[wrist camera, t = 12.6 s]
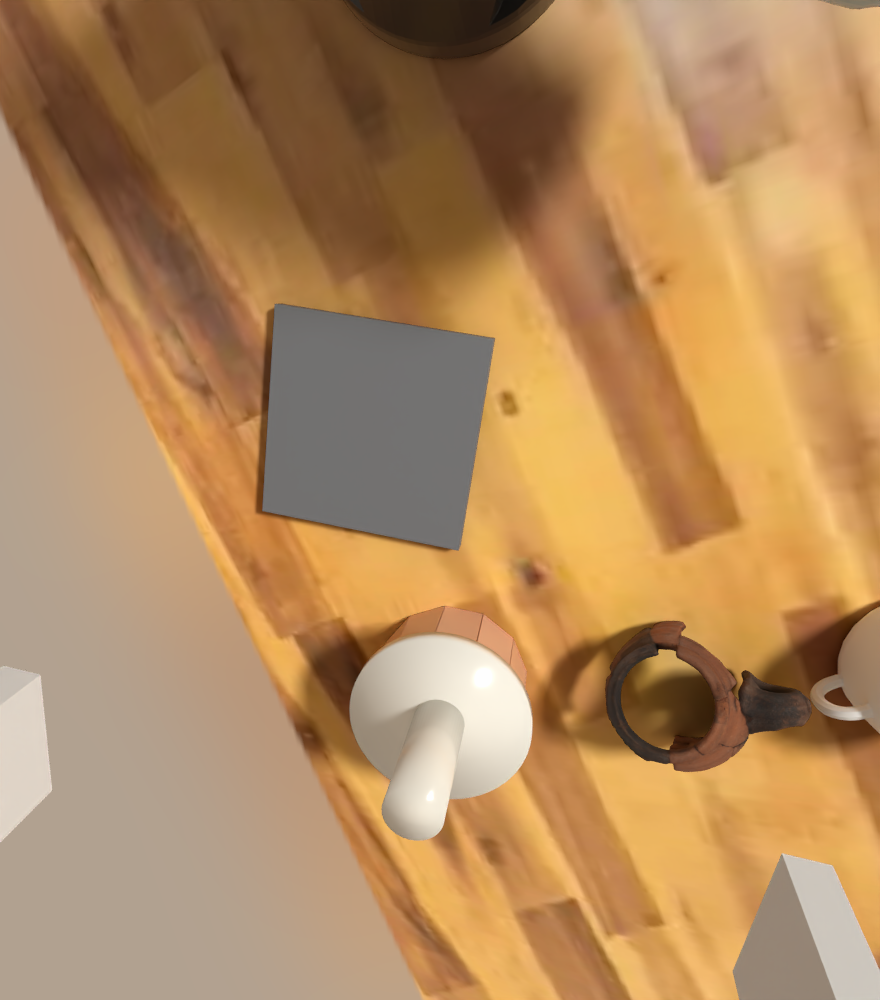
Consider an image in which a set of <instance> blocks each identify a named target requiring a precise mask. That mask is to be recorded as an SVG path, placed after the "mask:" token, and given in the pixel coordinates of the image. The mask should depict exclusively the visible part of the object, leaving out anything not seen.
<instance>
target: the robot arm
mask: <svg viewBox="0 0 880 1000" xmlns="http://www.w3.org/2000/svg"><path fill="white" fill-rule="evenodd" d="M820 1H823V2H827V3H830V4H834V5H838V6H841V7H845V8H849V9H862V8H869V7H880V0H820ZM344 2H345V3H346V4H347V6H348V7H349V8H350V10H351V11H352V12H353V14H354V15H355V16H356V17H357V18H358V19H359V20H360V21H361V22H362V23H363V24H364V25H365V26H366V27H367V28H368V29H369V30H370V31H372V32H373V33H374V34H375V35H377V36H378V37H379V38H381V39H382V40H384V41H385V42H387V43H389V44H391V45H393V46H394V47H397V48H399V49H401V50H403V51H406V52H409V53H412V54H415V55H419V56H424V57H430V58H442V59H443V58H460V57H466V56H471V55H475V54H479V53H482V52H485V51H487V50H490V49H493V48H495V47H497V46H499V45H501V44H503V43H505V42H507V41H508V40H510V39H512V38H514V37H515V36H516V35H518V34H519V33H521V32H522V31H524V30H525V29H526V28H527V27H529V26H530V25H531V24H532V23H533V22H534V21H536V20H537V19H538V18H539V17H540V16H541V15H542V14H543V13H544V12H545V11H546V10H547V9H548V7H549V6H550V5H551V4H552V3H553V2H554V0H344ZM51 791H52V784H51V774H50V764H49V755H48V744H47V734H46V725H45V715H44V705H43V696H42V686H41V675H40V674H35V673H31V672H27V671H23V670H19V669H15V668H11V667H6V666H2V667H1V668H0V842H1V841H2V840H3V839H4V838H5V837H6V836H7V835H8V834H9V833H10V832H11V831H12V830H13V829H14V828H15V827H16V826H17V825H18V824H19V823H20V822H21V821H22V820H23V819H24V818H25V817H26V816H27V815H28V814H29V813H30V812H31V811H32V810H33V809H34V808H35V807H36V806H37V805H38V804H39V803H40V802H41V801H42V800H43V799H44V798H45V797H46V796H47V795H48V794H49V793H50V792H51ZM733 975H734V979H735V983H736V987H737V992H738V996H739V1000H880V970H879V968H878V966H877V963H876V961H875V959H874V957H873V954H872V952H871V950H870V948H869V946H868V943H867V941H866V939H865V937H864V934H863V932H862V930H861V928H860V925H859V923H858V921H857V919H856V917H855V914H854V912H853V910H852V908H851V905H850V903H849V901H848V899H847V896H846V894H845V892H844V890H843V888H842V885H841V883H840V881H839V879H838V876H837V874H836V872H835V870H834V867H833V866H832V865H828V864H824V863H820V862H816V861H812V860H807V859H803V858H799V857H795V856H791V855H787V854H783V853H782V854H781V857H780V859H779V862H778V864H777V866H776V869H775V871H774V873H773V876H772V878H771V881H770V883H769V885H768V888H767V890H766V893H765V895H764V897H763V900H762V902H761V905H760V907H759V909H758V912H757V914H756V917H755V919H754V921H753V924H752V926H751V928H750V931H749V933H748V936H747V938H746V940H745V943H744V945H743V948H742V950H741V952H740V955H739V957H738V960H737V962H736V964H735V967H734V969H733Z"/></svg>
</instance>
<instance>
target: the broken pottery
mask: <svg viewBox="0 0 880 1000" xmlns="http://www.w3.org/2000/svg"><path fill="white" fill-rule="evenodd" d="M685 628H686V626H685V624H684V623H683V622H680V621H664V622H661V623H659V624H655V625H654V627H653V628H652V629H651V628H646V629H643V630H642V631H641V632H639V633H638V634H637V635H635V636H634V637H633V638H632V639H631V640H630V641H628V642H627V643H626V644H625V645H624V646H623V647H622V649H621V650H620V651H619V652H618V653H617V655H616V657H615V658H614V660H613V662H612V663H611V665H610V670H611V673H610V675H609V676H608V677H607V679H606V687H605V691H606V706H607V714H608V717H609V720H610V721H611V723H612V725H613V727H614V728H615V729H616V731H617V733H618V734H619V736H620V737H621V738H622V739H623V741H624V743H625V744H626V745H628V746H629V748H630V749H631V750H633V751H634V752H635V754H636V755H638V756H640V757H641V758H643V759H644V760H646V761H655V762H659V763H663V764H668V763H672V764H673V765H674V769H675V770H676V771H683V772H695V771H703V770H707V769H710V768H713V767H716V766H718V765H720V764H722V763H724V762H725V761H727V760H728V759H729V758H730V757H732V756H734V755H735V754H736V753H738V751H739V750H740V749H741V748H742V747H743V746H744V744H745V742H746V741H747V739H748V735H749V734H753V733H757V732H763V731H777V730H780V729H784V728H788V727H795V726H803V725H804V724H805V723H806V722H807V721H808V719H809V717H810V714H811V703H810V700H809V699H808V698H807V697H806V696H804V695H803V694H802V693H801V692H800V691H798V690H796V689H792V688H787V687H781V686H776V685H771V684H767V683H764V682H762V681H760V680H759V679H757V678H756V677H755V676H754V675H753V674H752V673H750V672H749V671H746V670H745V671H743V672H742V673H741V674H742V678H743V683H742V685H741V686H740V689H739V691H738V696H739V701H738V699H737V698H736V697H735V696H734V695H733V693H732V691H731V690H732V688H733V687H734V686H735V685H736V684H737V682H736V680H735V678H734V677H733V676H732V675H731V673H730V672H729V671H728V670H727V669H726V668H725V667H724V665H723V664H722V663H721V662H720V660H718V659H717V658H716V657H715V656H714V655H712V654H711V653H710V652H709V651H707V650H706V649H705V648H704V647H703V646H702V645H700V644H698V643H697V642H695V641H693V640H691V639H689V638H687V637H684V636H681V632H682V631H683V630H684V629H685ZM659 649H665V650H667V649H669V650H674V651H676V656H677V658H679V659H681V660H683V661H685V662H687V663H688V664H690V665H691V666H693V667H694V668H695V669H697V670H698V671H699V672H700V673H701V675H702V676H703V677H704V679H705V680H706V681H707V683H708V685H709V687H710V689H711V691H712V694H713V697H714V699H715V715H714V720H713V723H712V726H711V728H710V730H709V731H708V733H707V734H706V735H705V737H700V738H689V737H682V736H675V739H674V742H673V745H671V746H670V750H665V749H661V748H658V747H655V746H652V745H650V744H649V743H647V742H645V741H644V740H642V739H641V738H640V737H639V736H638V735H637V734H636V733H635V732H634V731H633V730H632V729H631V728H630V726H629V725H628V723H627V721H626V719H625V717H624V714H623V711H622V707H621V698H620V697H621V688H622V684H623V681H624V679H625V677H626V676H627V674H628V672H629V671H630V670H631V669H632V668H633V667H634V666H635V665H636V664H637V663H639V662H640V661H642V660H644V659H646V658H649V657H653V656H657V655H658V650H659Z"/></svg>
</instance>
